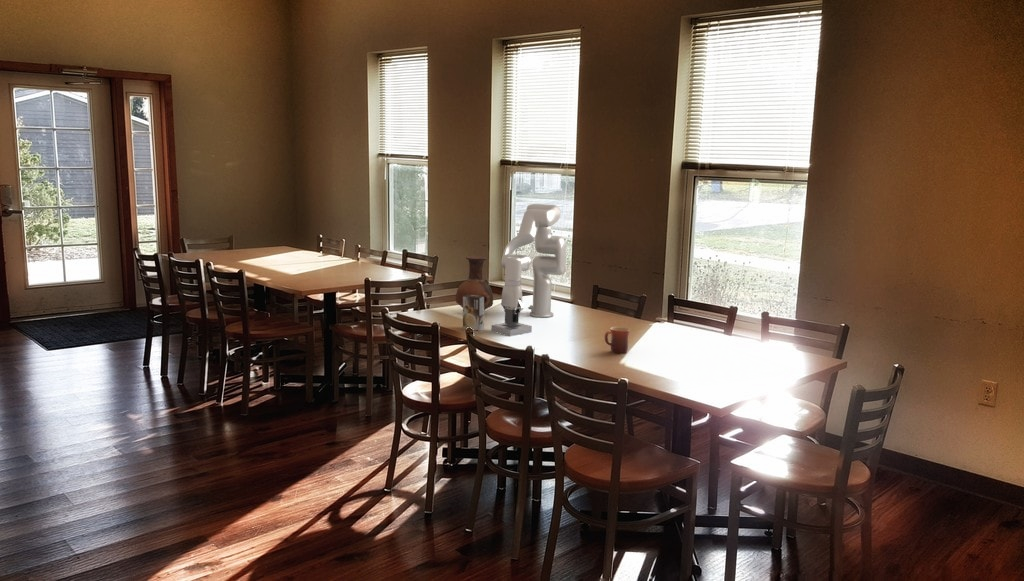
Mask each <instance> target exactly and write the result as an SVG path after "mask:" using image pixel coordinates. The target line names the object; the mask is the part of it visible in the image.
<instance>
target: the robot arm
mask: <svg viewBox="0 0 1024 581" xmlns="http://www.w3.org/2000/svg"><path fill="white" fill-rule="evenodd" d="M560 218H561V209H560V206H558V205H555V204H542V203H540V204H539V203H530V204H529V205H527V207H526V210H525V212H524V213H523V216H522V219H521V223H520V226H519V230H518V233H517V235H515V236H514V237H513V238H512V239H511V240H510V241H509V242H508V243H507V244H506V245H505V247H504V250H503V254H502V257H501V266H502V268H503V269H505V270H504V285H503V288H502V291H501V303H500V305H501V307H502V308H503V311H504V313H505V309H507V308H513V310H514V314H513V322H518V323H519V321H518V319H519V317H520V316H519V315H520V314H521V312H522V311H523V310H524V309H525V307H524V305H523V289H522V286H521V285H522V284H521V283H522V272H527V271H529V270H530V268H531V267H532V273H533V282H532V284H533V285H532V286H533V289H532V304H530V305H529V306H528V307H527V310H531V311H530V312H529V316H530V317H533V318H534V317H535V318H552V317H554V312H552V311H551V310H552V309H551V307H552V280H551V278H550V276H549V275H551V276H552V275H553V276H562V275H564V274H565V272H566V269H567V243H566V240H565V238H564V237H562V236H559V235H553V234H552V226H554V225H555V224H556V223H557V222H558V221H559V220H560ZM533 242H534V247H535V252H536V253H538V254H542V255H537V256H535V257H534V258H532V259H531V257H530V256H528V255H523V254H513V253H514V252H515V251H516V250H517V249H519V248H521V247H524V246H527V245H530V244H532V243H533ZM543 254H544V255H543ZM553 255H554V256H553ZM516 308H517V310H516Z"/></svg>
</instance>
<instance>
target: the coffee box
mask: <svg viewBox="0 0 1024 581" xmlns="http://www.w3.org/2000/svg"><path fill="white" fill-rule="evenodd" d="M484 304H485V296H478V295H465V296H463V308H462V330H467V329H466V328H467V327H471V328H472V329H474V330H473V331H476V330H478V331H477V332H480V331H483V330H484V329H485V310H484Z"/></svg>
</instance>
